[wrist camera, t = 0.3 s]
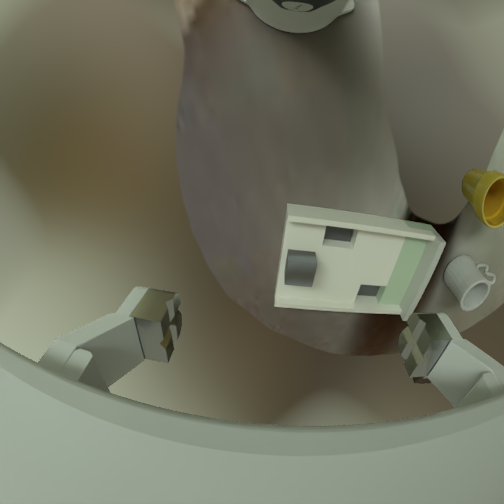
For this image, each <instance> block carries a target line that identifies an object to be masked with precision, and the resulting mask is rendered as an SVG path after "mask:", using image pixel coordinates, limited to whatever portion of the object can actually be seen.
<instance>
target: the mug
mask: <svg viewBox="0 0 504 504" xmlns="http://www.w3.org/2000/svg"><path fill="white" fill-rule="evenodd" d="M480 267H484V268H485V271H484V273H485V275H486V276H489V277H492V278H493V279H492V281H488V280H487V279H486V278H485V277H484V276H483V275H482V274H481V272H480V271H479V268H480ZM488 270H489V267H488V265H486V264H483V263H481V264H478V265H477V266H476V265H475V263H474V262H473V260H472V259H471V258H470V257H469V256H467V255H461V256H458V257H456V258H454V259H453V260H452V261H451V262H450V263H449V264H448V266H447V268H446V270H445V273H444V281H445V283H446V285H447V286H448V287H449V288H450V289H451V291H452V292H453V293H454V295H455V296H456V298H457V300H458V303H459V305H460V307H461V309H462V310H464V311H471V310H473V309H475V308H477V307H478V306H480V305H481V304H482V303H483V302H484V301H485V299H486V298H487V296H488V294H489V291H490V285H492V284H494V283H495V281H496V276H495V275H494V274H493V273H489V272H488Z"/></svg>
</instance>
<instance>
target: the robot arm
mask: <svg viewBox="0 0 504 504" xmlns="http://www.w3.org/2000/svg"><path fill="white" fill-rule="evenodd" d="M240 1H241V2H243V3H245V4H247V5H248V6H249V7H250V8H251V9H252V10H253V12H254V13H255V14H256V15H257V16H258V17H259V18H260V19H261V20H262V21H263V22H265V23H266V24H268V25H270V26H271V27H274V28H276V29H279V30H282V31H286V32H292V33H307V32H313V31H316V30H319V29H322V28H324V27H326V26H327V25H329V24H330V23H331V22H332V21H333V20H334V19H335V18H336V17H338V16H339V15H342V14H346V13H349V12H351V11H352V10H353V9H354V6H355V5H354V0H240ZM179 305H180V296H179V294H178V293H175V292H170V291H164V290H158V289H153V288H147V287H141V286H137V287H135V288H134V289H133V290H132V292H131V293H130V294H129V295H128V297H127V298H126V300H125V301H124V302H123V304H122V305H121V306H120V308H119V309H118V311H117V312H116V313H115V314H114V313H110V314H108V315H106V316H104V317H102V318H99V319H97V320H95V321H93V322H91V323H89V324H86V325H84V326H82V327H80V328H78V329H76V330H74V331H71V332H69V333H67V334H65V335H63V336H61V337H58V338H56V339H55V341H54V342H53V343H52V344H51V346H50V347H49V348H48V350H47V351H46V353H45V354H44V355H43V356H42V358H41V359H40V361H39V362H38V363H37V362H35V361H33V360H31V359H29V358H27V357H25V356H23V355H21V354H19V353H18V352H16V351H14V350H12V349H10V348H9V347H7V346H5V345H4V344H2V343H0V504H504V366H502V365H501V364H499V363H498V362H497V361H495V360H494V359H493V358H491V357H490V356H488V355H487V354H486V353H484V352H483V351H481V350H480V349H479V348H477V347H476V346H474V345H473V344H472V343H470V342H468V341H467V340H466V339H464V340H463V339H462V337H461V336H460V334H459V332H458V331H457V329H456V328H455V326H454V325H453V323H452V322H451V320H450V319H449V317H448V316H447V314H445V313H444V312H443V313H412V314H411V315H410V316H409V318H408V320H407V325H408V327H406V328H405V329H404V330H403V331H402V333H401V335H400V337H399V342H398V348H399V352H400V355H401V356H402V357H403V358H404V359H406V361H405V363H404V365H405V368H406V370H407V373H408V375H409V377H424V376H427V378H428V379H429V380H430V381H431V382H432V383H433V384H434V385H435V386H436V387H437V388H438V389H439V390H440V392H441V393H442V394H443V395H444V396H445V397H446V398H447V399H448V400H449V401H450V402H451V403H452V404H453V406H454V407H455V408H454V409H452V410H447V411H443V412H439V413H434V414H429V415H424V416H420V417H413V418H407V419H402V420H394V421H386V422H378V423H369V424H355V425H338V426H289V425H270V424H257V423H248V422H238V421H230V420H222V419H216V418H210V417H204V416H198V415H192V414H188V413H182V412H177V411H173V410H169V409H165V408H160V407H156V406H152V405H149V404H145V403H141V402H137V401H134V400H131V399H128V398H124V397H121V396H117V395H115V394H112V393H110V391H109V389H108V387H109V386H110V385H112V384H113V383H114V382H116V381H117V380H119V379H120V378H121V377H123V376H124V375H125V374H127V373H128V372H129V371H131V370H132V369H133V368H135V367H136V366H137V365H139V364H140V363H141V362H143V361H144V359H149V360H154V361H159V362H164V363H168V362H169V360H170V357H171V355H172V352H173V350H174V346H173V342H175V341H176V340H178V338H179V335H180V331H181V326H182V315H181V313H180V311H179V310H178V307H179Z"/></svg>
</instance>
